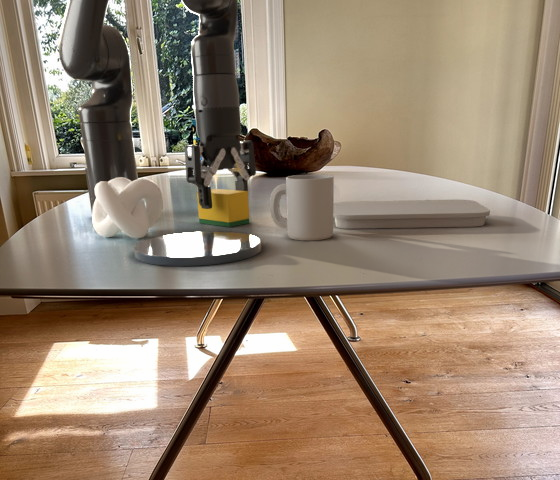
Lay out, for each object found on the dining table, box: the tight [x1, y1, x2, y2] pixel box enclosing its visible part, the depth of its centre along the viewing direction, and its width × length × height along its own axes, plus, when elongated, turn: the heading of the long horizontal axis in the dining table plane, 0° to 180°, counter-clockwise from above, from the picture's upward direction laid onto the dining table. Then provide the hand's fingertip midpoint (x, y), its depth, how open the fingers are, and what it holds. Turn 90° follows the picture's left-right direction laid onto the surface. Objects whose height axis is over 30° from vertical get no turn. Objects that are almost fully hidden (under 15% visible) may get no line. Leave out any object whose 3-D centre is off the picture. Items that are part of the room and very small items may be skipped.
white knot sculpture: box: [91, 177, 164, 239], centre depth 96 cm, size 11×12×9 cm
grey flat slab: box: [333, 199, 491, 230], centre depth 104 cm, size 16×26×2 cm, turn 86°
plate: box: [133, 231, 262, 267], centre depth 85 cm, size 18×18×1 cm
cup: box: [269, 174, 335, 241], centre depth 92 cm, size 7×10×9 cm
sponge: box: [196, 188, 250, 228], centre depth 107 cm, size 8×5×6 cm, turn 48°
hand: (224, 205), depth 106 cm, fingers open, 8 cm apart
